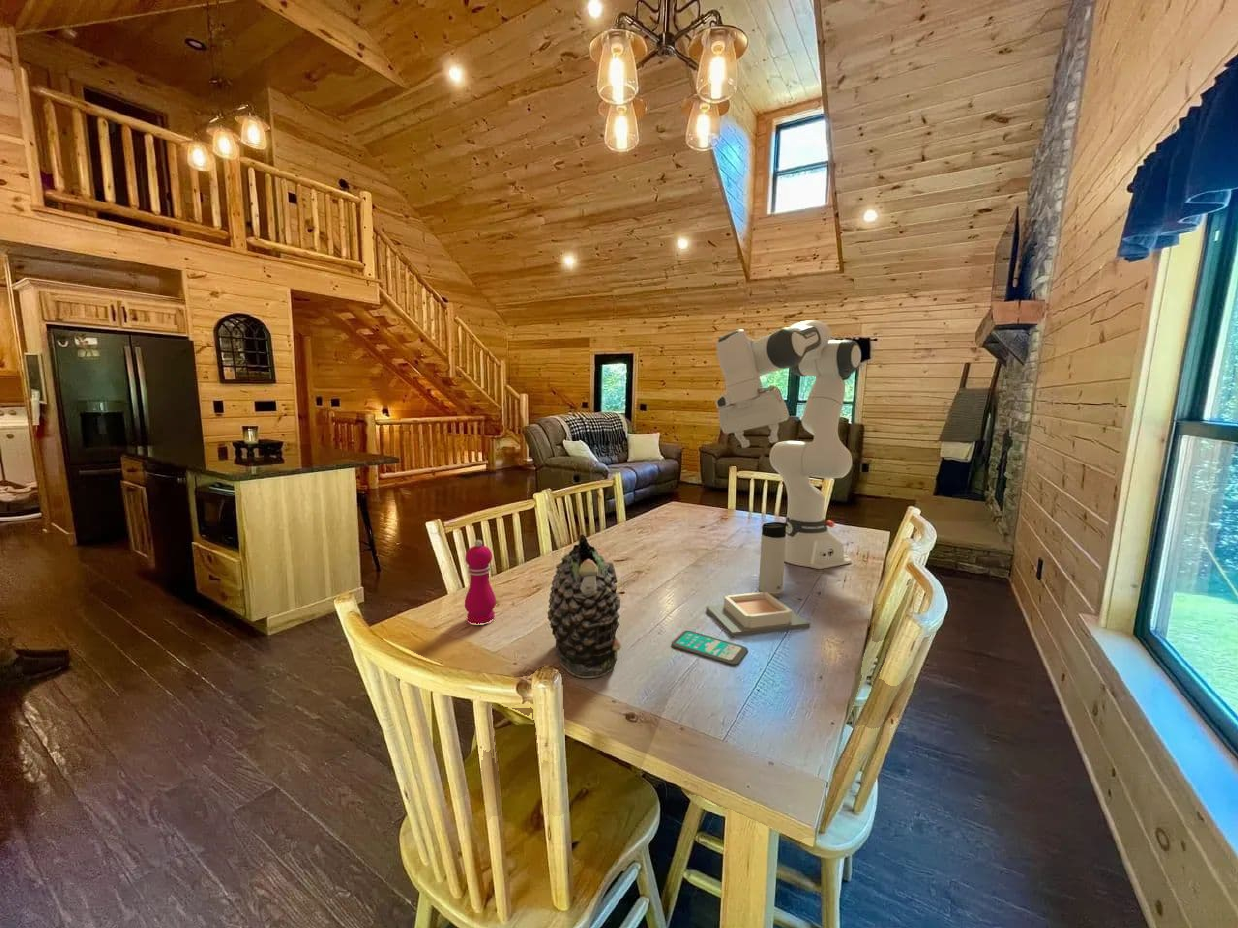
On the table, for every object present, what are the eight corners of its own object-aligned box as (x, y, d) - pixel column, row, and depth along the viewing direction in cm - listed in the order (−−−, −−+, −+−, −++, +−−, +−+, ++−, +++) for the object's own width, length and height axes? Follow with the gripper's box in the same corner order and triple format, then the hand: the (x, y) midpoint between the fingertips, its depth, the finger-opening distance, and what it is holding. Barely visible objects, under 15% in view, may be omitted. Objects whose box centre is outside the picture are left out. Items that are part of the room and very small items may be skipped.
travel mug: (785, 598, 132) (789, 526, 129) (759, 596, 134) (763, 525, 131) (782, 589, 138) (786, 520, 135) (757, 587, 140) (761, 519, 137)
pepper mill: (502, 616, 121) (500, 537, 118) (485, 629, 114) (482, 546, 111) (477, 611, 123) (474, 534, 120) (459, 624, 117) (455, 542, 114)
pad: (763, 604, 126) (763, 598, 126) (783, 620, 117) (783, 614, 117) (731, 608, 124) (731, 602, 123) (749, 624, 115) (749, 618, 115)
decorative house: (634, 678, 96) (636, 554, 92) (557, 690, 91) (555, 561, 88) (606, 628, 115) (607, 524, 112) (542, 637, 111) (540, 529, 107)
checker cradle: (776, 602, 130) (777, 588, 129) (809, 627, 116) (810, 611, 116) (706, 610, 125) (706, 595, 124) (732, 637, 112) (733, 620, 111)
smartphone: (736, 664, 99) (669, 643, 107) (735, 669, 99) (669, 648, 107) (749, 646, 106) (686, 628, 114) (749, 651, 106) (686, 632, 115)
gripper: (786, 381, 121) (800, 435, 122) (726, 399, 138) (739, 446, 139) (769, 386, 118) (784, 441, 118) (710, 403, 135) (723, 452, 136)
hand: (759, 444), depth 129 cm, fingers open, 8 cm apart
